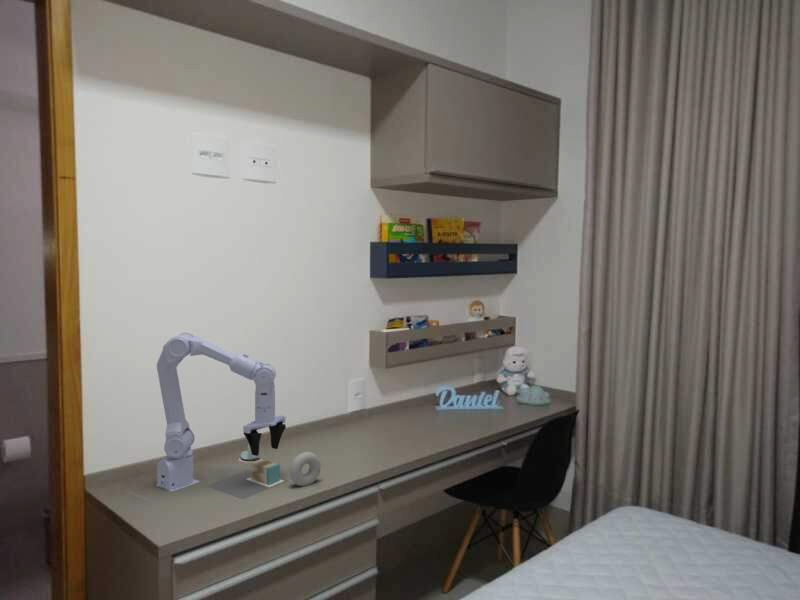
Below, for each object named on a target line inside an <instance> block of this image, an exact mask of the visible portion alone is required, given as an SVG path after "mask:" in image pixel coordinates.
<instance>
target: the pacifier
mask: <svg viewBox="0 0 800 600" xmlns="http://www.w3.org/2000/svg"><path fill="white" fill-rule="evenodd" d="M260 457H261V455H258V456H255V455H252V452H251V449H250V445H249V443H248V444H247V450H244V451H242V452H241V453H240V457H239V458H238V461H240V462H242V463H251V462H254V460H255V459H259V458H260Z"/></svg>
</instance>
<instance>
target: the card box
mask: <svg viewBox="0 0 800 600" xmlns="http://www.w3.org/2000/svg"><path fill="white" fill-rule="evenodd" d="M280 466H281V465H280V463H275V462H272V461H270V460H267V459H262V458H260V459H258V460H255V461H254V460H253V461H252V462H250V470H251V479H252V480H255V481H258V482H261V483H264V484H267V485H271V484H274V483H276V482H279V481H280V478H281V477H280V476H281V475H280V473H281V470H280V469H281V467H280Z"/></svg>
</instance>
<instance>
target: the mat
mask: <svg viewBox="0 0 800 600" xmlns="http://www.w3.org/2000/svg"><path fill="white" fill-rule="evenodd" d="M288 481H289V479H284V478H281V477H280V481H279V482H276V483H274V484H271V485H267V484H264V483H261V482H258V481H255V480H252V479H251V469H248V470H245V471H243V472H240V473H238V474H234V475H232V476H229V477H226V478H222V479H220V480H218V481H215V482H211V483H209V484H207V485H205V486H206V487H209V488H211V489H214V490H216V491H220V492H221V493H222V492H223V493H225V494H227V495H230V496H233V497H236V498H239V499H241V500H245V499H248V498H249V497H252V496H255V495H257V494H259V493H261V492H264V491H267V490H269V489H271V488H274V487H276V486H278V485H280V484H283V483H286V482H288Z"/></svg>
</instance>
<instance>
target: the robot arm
mask: <svg viewBox="0 0 800 600" xmlns="http://www.w3.org/2000/svg"><path fill="white" fill-rule="evenodd" d="M188 355H189V356H190V357H194V356H200V355H203V356H205V357H208V358H210V359H213V360H216V361H218V362H220V363H222V364H225V365H227V366H229V369H230V371H231V372H232V373H234V374H237V375H239V376H241V377H243V378H246V379H248V380H250V381H253V383H254V384H255V390H254V420H253V421H251V422H250V423H247V424H245V425H243V428H242V429H243V435H244V436H245V438H246V441H247V442H248V444H249V445H250V449H251V452H252V455H254V456H259V455H260V442H261V438H262V435H263V434H262V433H260V432H259V431H258V430H261V429H264V428H268V429H269V434H270V446H271V448H272V449H275V450H278V448H279V444H280V442H281V438H282V436H283V434H284V431H285V430H286V424H285V423H286V416H285V415H277V416H276V391H275V386H276V385H275V378H276V374H277V372H276V369H275V368H274V367H273V366H272V365H271V364H270V363H264V362H263V361H262V360H260V361H258V360H256V359H254V358H252V357H250V356H249V353H246V352H244V353H241V352H240V353H237V354H233V353H232V352H230V351H228V350H225V349H223V348H221V347H219V346H217V345H215V344H214V343H212V342H209V341H208V340H206V339H204V338H202V337H200V336H197V335H193V334H192V333H190V332H189V333H188V332H182V333H180V334H178V335H177V336H174V337H171V338H169V340H168V341H167V342H165V344H164V345H163V346H162V351H161V353H160V355H159V357H158V360H157V362H156V370H157V371H156V372H157V378H158V383H159V387H160V392H161V393H160V394H161V397H162V403H163V410H164V415H165V421H166V429H165V442H164V446H163V447H164V452H165V454H166V456H165V457H164V458H162V459H161V460H159V461H158V462H157V466H156V470H157V471H156V475H157V476H156V479H157V483H156V485H155V486H156V487H159V488H161V489H163V490H166V491H169V492H174V491H178V490H180V489H183V488H186V487H188V486H192V485H195V484H197V483H200V480H197V479H194V451H193V449H192V447H191V446H193V444H194V442H195V434H194V432H193V431H192V429H191V428H190V424H189V422H188V421H187V419H186V414H185V409H184V404H183V397H182V393H181V392H182V391H181V385H180V379H179V375H178V369H177V367H178V366H179V364H181V362H182V361H183V360H184V359H185V357H187V356H188Z"/></svg>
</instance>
